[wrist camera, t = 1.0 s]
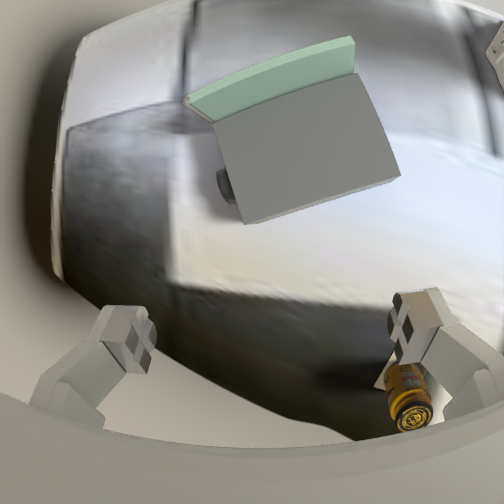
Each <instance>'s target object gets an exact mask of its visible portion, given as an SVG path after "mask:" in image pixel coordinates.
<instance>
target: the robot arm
mask: <svg viewBox="0 0 504 504" xmlns="http://www.w3.org/2000/svg"><path fill="white" fill-rule="evenodd" d="M486 56H487V58H488V60H489V61H490V63H491V64H492V66H493V67H494V69H495V71H496V73H497V76H498V79H499V81H500V84H501V86H502V88H503V90H504V22H503V23H502V25H501V27H500V29H499V30H498V32H497V34H496V35H495V37H494V39H493V40H492V42H491V44H490V45H489V47H488V49H487V50H486ZM392 302H393V304H394V307H393V308H392V309H391V310H390V311H389V315H388V332H389V335H390V338H391V339H392V340H393V341H395V342H396V344H395V346H394V352H395V356H396V359H397V363H398V365H404V364H410V363H416V362H421V364H422V365H423V366H424V367H425V368H426V369H427V370H428V371H429V372H430V373H431V374H432V376H433V377H434V378H435V379H436V380H437V381H438V382H439V383H440V384H441V385H442V386H443V387H444V388H445V389H446V391H447V392H448V393H449V394H450V395H451V396H452V397H453V399H452V400H451V401H450V402H449V403H448V404H447V405H446V406H445V408H444V409H443V415H444V419H445V422H441V423H438V424H435V425H431V426H427V427H424V428H420V429H416V430H412V431H408V432H404V433H399V434H395V435H390V436H385V437H380V438H374V439H368V440H362V441H356V442H348V443H341V444H332V445H322V446H310V447H295V448H229V447H212V446H200V445H191V444H182V443H175V442H167V441H160V440H155V439H149V438H143V437H138V436H133V435H128V434H123V433H119V432H114V431H110V430H106V429H103V426H104V422H105V417H104V416H103V415H102V414H101V413H100V412H99V411H98V410H96V409H95V408H96V407H97V406H98V405H99V404H100V403H101V402H102V400H103V399H104V398H105V397H106V396H107V395H108V394H109V392H110V391H111V390H112V389H113V388H114V387H115V386H116V385H117V384H118V383H119V381H120V380H121V379H122V378H123V377H124V376H125V375H126V373H137V374H147V372H148V368H149V365H150V362H151V356H150V354H149V353H150V352H151V351H152V350H153V349H154V348H155V345H156V342H157V332H156V328H155V326H154V324H153V322H152V321H150V320H149V319H148V318H147V316H148V312H147V310H146V308H145V307H142V306H120V305H117V306H115V305H106V306H104V307H103V308H102V310H101V312H100V314H99V317H98V318H97V320H96V322H95V324H94V327H93V328H92V331H91V333H90V335H89V337H88V339H87V340H83V341H82V342H80V343H79V344H78V345H77V346H76V347H74V348H73V349H72V350H71V351H70V352H68V353H67V354H66V355H65V356H63V357H62V358H61V359H60V360H59V361H57V362H56V363H55V364H54V365H53V366H51V367H50V368H49V369H48V370H47V371H45V372H44V373H43V374H42V375H41V376H40V379H39V381H38V383H37V385H36V388H35V390H34V392H33V395H32V397H31V399H30V402H29V404H27V403H24V402H22V401H20V400H17V399H15V398H13V397H11V396H8V395H6V394H4V393H2V392H0V504H504V356H503V355H501V354H500V353H499V352H497V351H496V350H495V349H494V348H492V347H491V346H490V345H488V344H487V343H486V342H485V341H483V340H482V339H481V338H479V337H478V336H477V335H475V334H474V333H473V332H471V331H470V330H469V329H467V328H466V327H465V326H463V325H462V324H461V323H458V324H456V322H455V319H454V317H453V315H452V313H451V311H450V309H449V307H448V305H447V303H446V302H445V300H444V298H443V296H442V294H441V292H440V290H439V289H438V288H437V287H435V288H428V289H420V290H412V291H405V292H397V293H396V294H395V295H394V297H393V301H392Z"/></svg>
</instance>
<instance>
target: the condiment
mask: <svg viewBox="0 0 504 504" xmlns="http://www.w3.org/2000/svg"><path fill="white" fill-rule="evenodd" d="M419 369H420V370H419ZM426 372H427V369H426V368H425V367H424V366H423V365H422V364H421V362H416V363H410V364H404V365H398V363H397V359H396V356H395V352H393V354H392V356H391V357H390V359H389V361H388V363H387V364H386V366H385V368H384V369H383V371H382V373H381V375H380V376H379V378H378V380H377V381H376V383H375V385H374V387H376V388H379V389H382V390H386V394H387V399H388V403H389V409H390V413H391V416H392V418H393V419H394V420H395V425H396V427H397V429H398V430H399V431H401V432H408V431H412V430H416V429H420V428H424V427H426V426H427V425H428V424H429V422H430V421H431V419H432V417H433V408H432V406H431V402H432V399H431V395H430V393H429V391H428V388H427V386H426V384H425V382H424V379H423V376H424V375H425V374H426Z"/></svg>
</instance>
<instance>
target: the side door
mask: <svg viewBox="0 0 504 504" xmlns="http://www.w3.org/2000/svg"><path fill="white" fill-rule="evenodd" d="M354 60H355V42H354V40H353V39H352V37H351V35H350V36H346V37H342V38H338V39H334V40H330V41H326V42H322V43H319V44H315V45H312V46H308V47H305V48H302V49H299V50H296V51H292V52H289V53H286V54H283V55H281V56H278V57H275V58H272V59H269V60H267V61H264V62H261V63H259V64H256V65H253V66H251V67H248V68H246V69H243V70H241V71H239V72H236V73H234V74H232V75H229V76H227V77H225V78H222V79H220V80H218V81H216V82H214V83H211V84H209V85H207V86H205V87H203V88H201V89H199V90H197V91H195V92H193V93H191V94H189V95H187V96H188V97H184V98H183V99H182V100H181V104H182V105H184V106H185V107H187V108H188V109H190V110H191V111H193V112H194V113H196V114H197V115H199V116H200V117H202V118H203V119H205V120H206V121H208V122H209V123H211V124H213V123H215V122H218V121H220V120H222V119H225V118H227V117H229V116H232V115H234V114H236V113H239V112H241V111H244V110H246V109H249V108H251V107H254V106H256V105H259V104H261V103H264V102H267V101H269V100H272V99H275V98H277V97H280V96H283V95H286V94H289V93H292V92H295V91H298V90H301V89H304V88H307V87H310V86H313V85H316V84H319V83H323V82H326V81H330V80H333V79H337V78H340V77H344V76H347V75H351V74H354Z"/></svg>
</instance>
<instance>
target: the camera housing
mask: <svg viewBox="0 0 504 504" xmlns="http://www.w3.org/2000/svg"><path fill="white" fill-rule="evenodd" d="M212 125H213V128H214V132H215V135H216V138H217V141H218V144H219V148H220V151H221V154H222V157H223V160H224V163H225V167H226V168H223V169H221V170H218V171H217V183H218V186H219V189H220V191H221V194H222V196H223V197H224V199H225V200H226V201H227V202H228V203H229V204H233V203H236V202H237V205H238V208H239V211H240V214H241V218H242V221H243V224H244V225H248V224H258V223H261V222H265V221H268V220H271V219H274V218H277V217H280V216H283V215H286V214H289V213H292V212H295V211H298V210H302V209H305V208H308V207H311V206H314V205H317V204H321V203H324V202H327V201H330V200H333V199H337V198H340V197H343V196H346V195H350V194H353V193H356V192H359V191H363V190H366V189H369V188H373V187H376V186H379V185H383V184H386V183H389V182H392V181H393V180H395V179H396V178H398V177H399V176H401V174H400V171H399V168H398V165H397V162H396V160H395V157H394V154H393V151H392V149H391V146H390V144H389V141H388V139H387V136H386V134H385V131H384V129H383V126H382V124H381V122H380V119H379V117H378V115H377V113H376V110H375V108H374V106H373V104H372V102H371V99H370V97H369V95H368V93H367V91H366V89H365V87H364V85H363V83H362V81H361V79H360V77H359V75H358V73H355V74H351V75H347V76H344V77H340V78H337V79H333V80H330V81H326V82H323V83H319V84H316V85H313V86H310V87H307V88H304V89H301V90H298V91H295V92H292V93H289V94H286V95H283V96H280V97H277V98H275V99H272V100H269V101H267V102H264V103H261V104H259V105H256V106H254V107H251V108H249V109H246V110H244V111H241V112H239V113H236V114H234V115H232V116H229V117H227V118H225V119H222V120H220V121H218V122H215V123H213V124H212Z"/></svg>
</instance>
